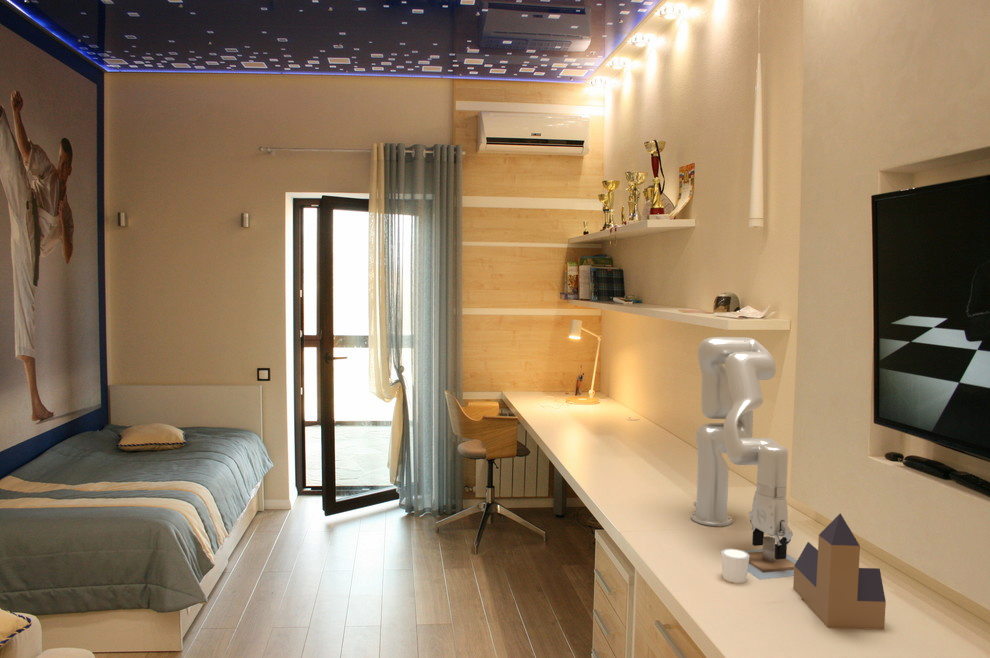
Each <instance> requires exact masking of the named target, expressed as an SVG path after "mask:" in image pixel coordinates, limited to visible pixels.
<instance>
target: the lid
mask: <svg viewBox="0 0 990 658" xmlns="http://www.w3.org/2000/svg"><path fill="white" fill-rule="evenodd" d="M775 544H776V540H775V537H774V536H770V535H768V536H767V535H766V536H765V535H764V537H763V545H762V549H763V552H752V553H748V554H749V564H751V565H752V566H754V567H755V568H757V569H758V570H760V571H761V572H763V573H765V572H775V571H786V570H794V565H795V563H793V562H791V561H790V560H788V559H778V560H777V559H775Z"/></svg>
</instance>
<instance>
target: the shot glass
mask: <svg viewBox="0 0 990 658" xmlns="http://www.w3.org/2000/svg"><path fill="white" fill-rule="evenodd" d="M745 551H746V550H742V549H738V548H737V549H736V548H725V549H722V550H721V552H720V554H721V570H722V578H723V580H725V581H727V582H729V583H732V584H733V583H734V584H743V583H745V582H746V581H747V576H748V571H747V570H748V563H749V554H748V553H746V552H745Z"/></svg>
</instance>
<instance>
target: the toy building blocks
mask: <svg viewBox="0 0 990 658" xmlns="http://www.w3.org/2000/svg"><path fill="white" fill-rule="evenodd" d="M860 550H861V546H860V543H859V542H858V540H857V539H856V537H855V535H854V534H853V532H852V530H851V528H850V527H849V525H848V524H847V522H846V521H845V518H844V517H843V515H842V513H838V515H837V516H836V517H834V519H833V520H832V521H831V522H830V523H829V524H828V525H827V526H826V527H825V528H824V529H823V530H822V531H820V533H819V534H818V545H817V548H816V547H815V546H814V545H813V544H812V543H810V542H809V541H807V543H806V544H805V546H804V548H803V550H802V552H801V553H800V555H799V556H798V558H797V559H796V560H797V562H796V564H795V565H794V576H793V585H792V588H793V590H794V591H795V592H796V593H797V594H798V595H799V597H800V599H801V600H802V602H803V603H804V604H806V606H807V607H808V608H809V609H810V610H811V611H812V612H813V614H815V615H816V617H817V618H819V620H820V621H821V622H822V624H823V625H825V627H827V628H839V629H840V628H841V629H843V628H844V629H869V630H872V629H874V630H875V629H878V630H885V624H886V623H885V622H886V605H887V604H886V603H887V601H886V600H887V599H886V595H885V591H884V586H883V580H882V575H881V573H882V572H881V569H880V568H879V567H877V568H875V567H874V568H873V567H872V568H871V567H870V568H869V567H860V553H861V551H860Z"/></svg>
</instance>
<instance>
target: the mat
mask: <svg viewBox="0 0 990 658" xmlns="http://www.w3.org/2000/svg"><path fill="white" fill-rule="evenodd" d="M744 551H745V552H746V553H752V552H763V548H758V549H748V550H747V549H746V550H744ZM786 559H788V560H790V561H791V562H793V563H795V564H796V562H797V560H798V559H796V558H794V557H793V556H790V555H789V554H787V553H786ZM747 573H749V574H751V575H752V576H753V577H755V578H756V579H758V580H768V579H769V580H770V579H781V578H791V577H794V570H786V571H775V572H765V573H763V572H761V571H760V570H758V569H757V568H755V567H754V566H752V565H751V564H749V563H748V570H747Z"/></svg>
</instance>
